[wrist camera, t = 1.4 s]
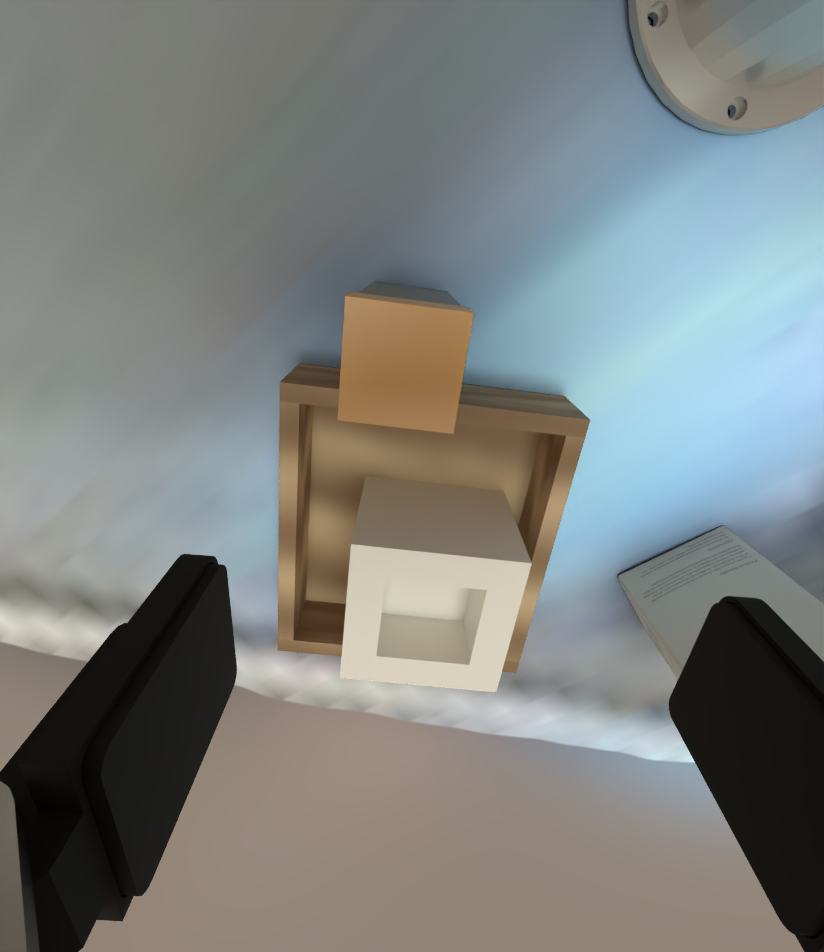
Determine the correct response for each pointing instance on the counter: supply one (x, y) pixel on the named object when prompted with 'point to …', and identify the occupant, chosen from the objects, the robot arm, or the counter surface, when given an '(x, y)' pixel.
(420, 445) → the crate
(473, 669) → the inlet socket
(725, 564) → the skincare box
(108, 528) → the counter surface
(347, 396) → the square peg
